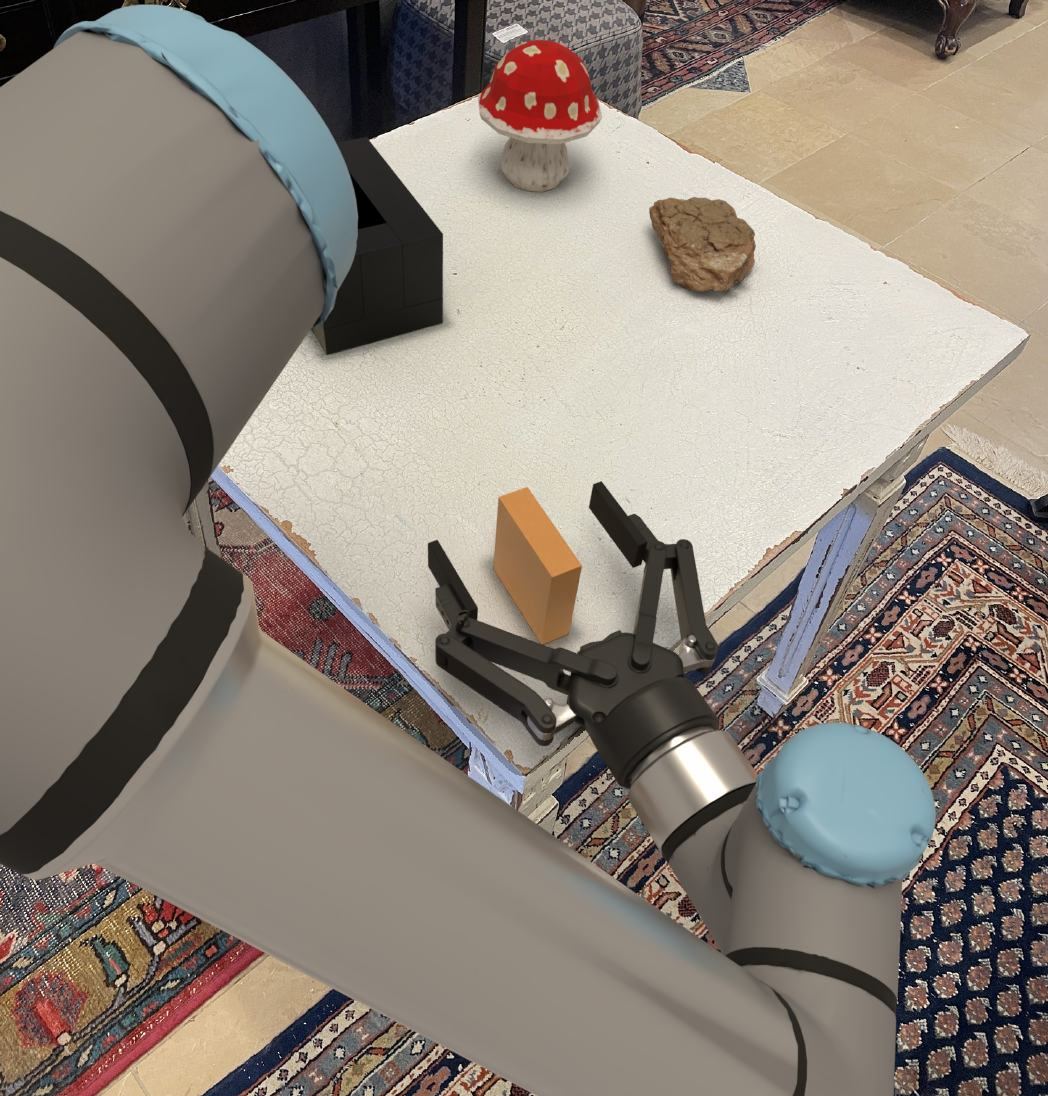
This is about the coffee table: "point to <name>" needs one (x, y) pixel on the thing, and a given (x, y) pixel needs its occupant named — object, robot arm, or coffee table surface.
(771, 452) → the coffee table surface
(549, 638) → the toast
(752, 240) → the rock
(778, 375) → the coffee table surface
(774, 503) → the coffee table surface
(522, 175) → the decorative mushroom
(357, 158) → the toaster
